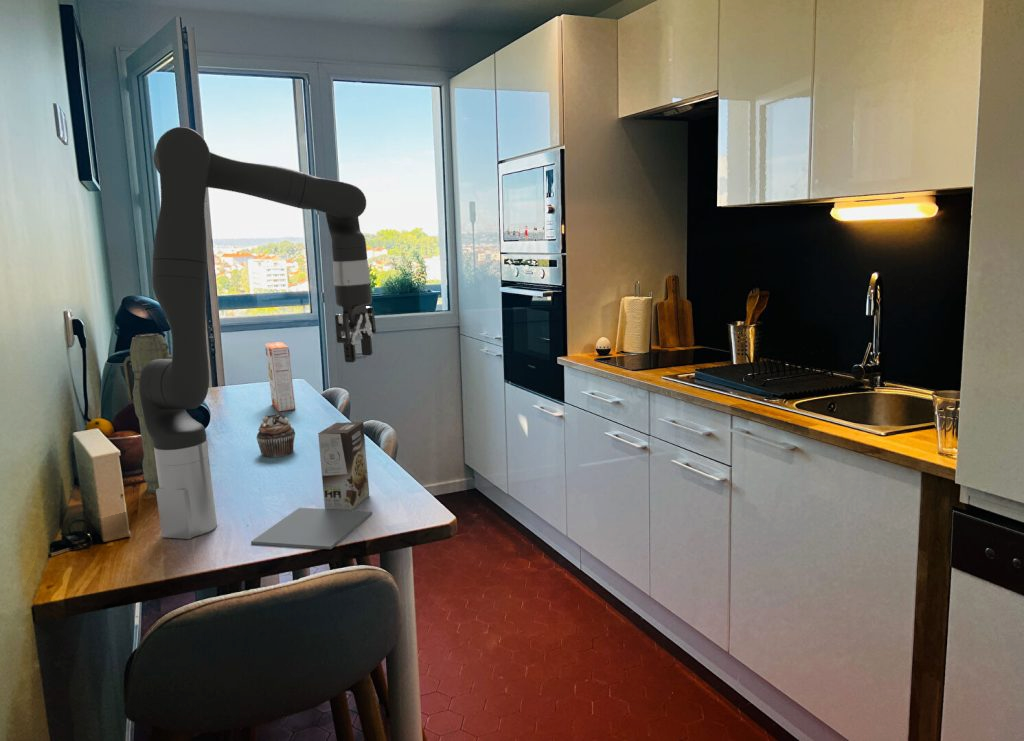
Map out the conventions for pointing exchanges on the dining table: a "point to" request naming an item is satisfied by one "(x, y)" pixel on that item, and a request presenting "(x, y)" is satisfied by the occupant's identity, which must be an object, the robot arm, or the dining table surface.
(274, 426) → the cupcake
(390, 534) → the dining table surface
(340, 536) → the mat
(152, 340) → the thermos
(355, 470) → the coffee box
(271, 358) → the cracker box
